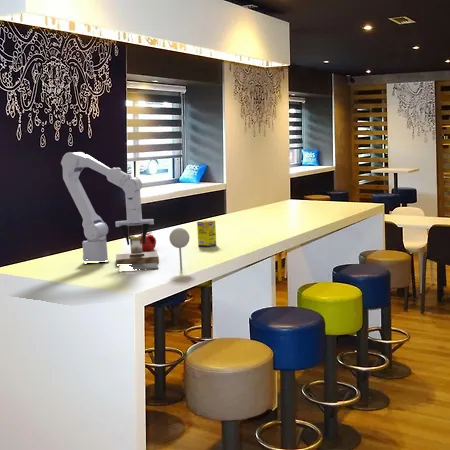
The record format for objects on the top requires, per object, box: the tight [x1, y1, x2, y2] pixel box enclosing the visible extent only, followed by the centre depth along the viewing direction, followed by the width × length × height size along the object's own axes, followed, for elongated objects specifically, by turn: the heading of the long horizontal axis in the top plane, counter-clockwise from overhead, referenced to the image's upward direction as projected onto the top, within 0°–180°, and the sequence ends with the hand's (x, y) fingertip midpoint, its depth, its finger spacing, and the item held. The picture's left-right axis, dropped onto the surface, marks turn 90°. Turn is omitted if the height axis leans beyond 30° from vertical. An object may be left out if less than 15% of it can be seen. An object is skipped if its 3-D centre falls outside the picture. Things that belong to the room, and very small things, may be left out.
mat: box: [129, 263, 159, 271], centre depth 226 cm, size 14×10×1 cm
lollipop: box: [169, 227, 190, 271], centre depth 218 cm, size 7×7×15 cm
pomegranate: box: [134, 232, 157, 252], centre depth 264 cm, size 10×10×9 cm
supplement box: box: [196, 220, 217, 248], centre depth 267 cm, size 6×6×11 cm
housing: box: [115, 250, 160, 264], centre depth 238 cm, size 16×12×2 cm
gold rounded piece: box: [128, 234, 143, 254], centre depth 237 cm, size 5×5×6 cm
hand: (136, 244), depth 237 cm, fingers closed on gold rounded piece, 5 cm apart
